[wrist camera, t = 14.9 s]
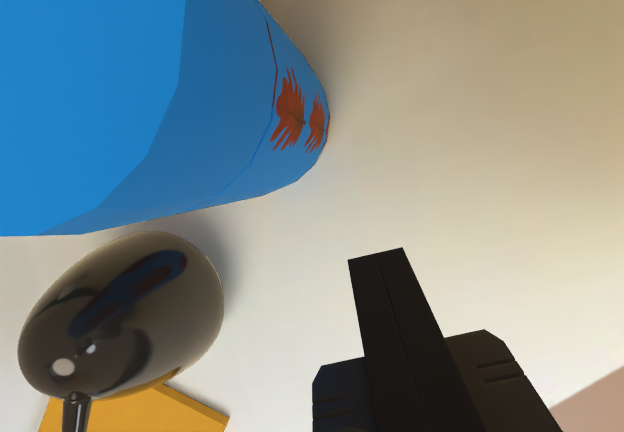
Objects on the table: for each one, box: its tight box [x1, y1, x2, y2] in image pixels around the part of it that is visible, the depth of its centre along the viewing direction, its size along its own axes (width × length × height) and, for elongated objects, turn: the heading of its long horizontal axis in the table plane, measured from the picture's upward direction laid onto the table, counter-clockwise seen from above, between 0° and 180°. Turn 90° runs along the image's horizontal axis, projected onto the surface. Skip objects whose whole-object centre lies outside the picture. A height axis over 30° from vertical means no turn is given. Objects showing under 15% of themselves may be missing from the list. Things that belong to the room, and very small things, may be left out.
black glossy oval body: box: [17, 231, 224, 432], centre depth 31 cm, size 10×10×15 cm
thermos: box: [0, 0, 330, 236], centre depth 24 cm, size 11×11×25 cm
